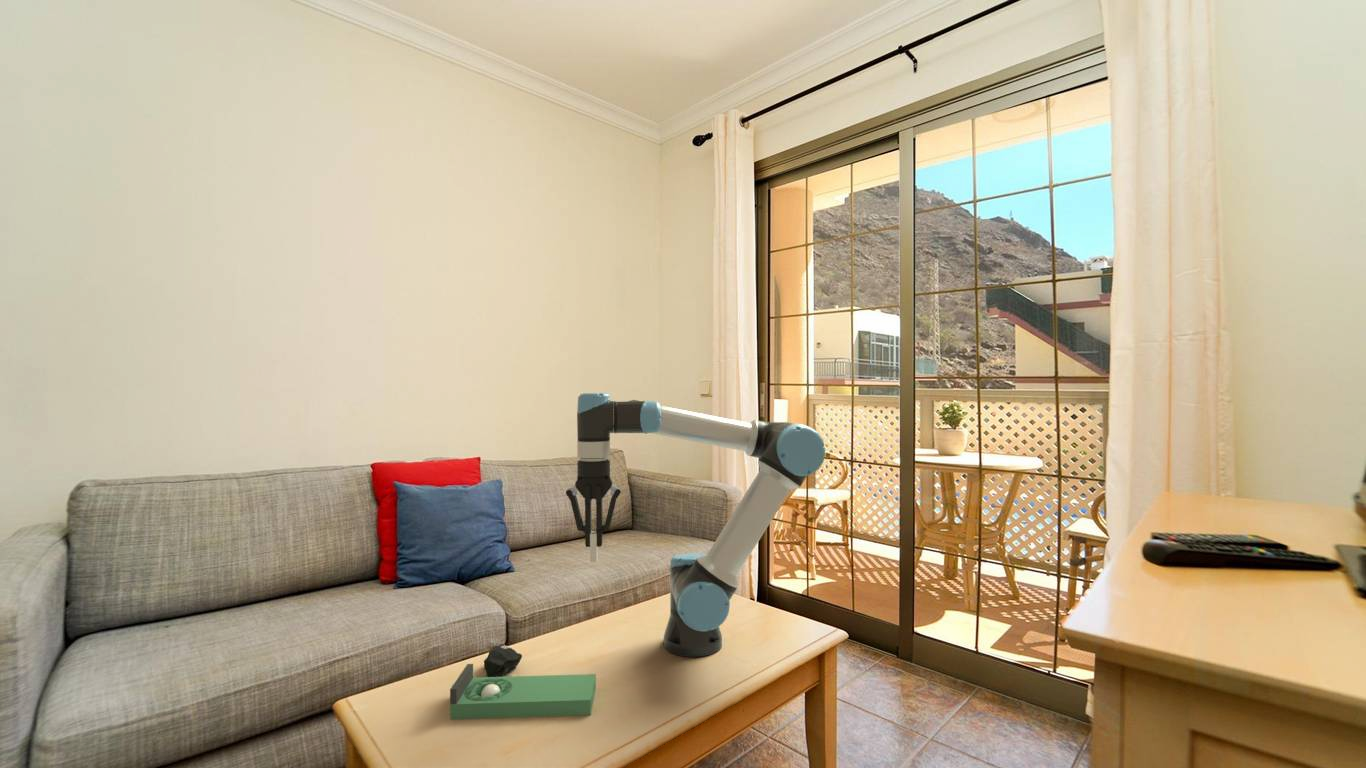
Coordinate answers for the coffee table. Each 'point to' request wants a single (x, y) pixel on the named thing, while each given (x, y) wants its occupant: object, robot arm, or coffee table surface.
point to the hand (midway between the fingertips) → (593, 560)
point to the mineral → (501, 661)
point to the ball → (490, 690)
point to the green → (522, 696)
